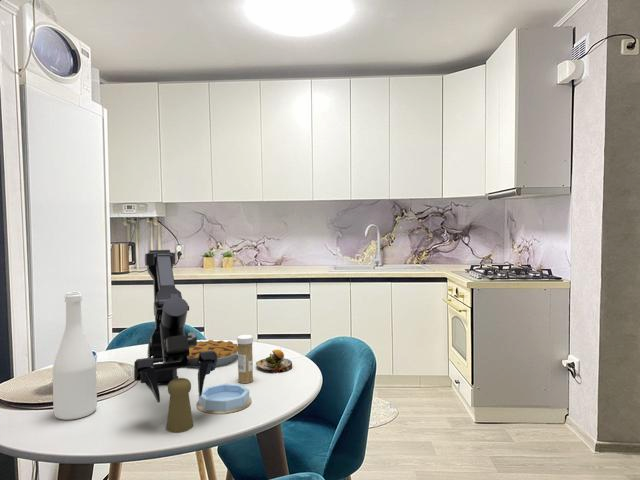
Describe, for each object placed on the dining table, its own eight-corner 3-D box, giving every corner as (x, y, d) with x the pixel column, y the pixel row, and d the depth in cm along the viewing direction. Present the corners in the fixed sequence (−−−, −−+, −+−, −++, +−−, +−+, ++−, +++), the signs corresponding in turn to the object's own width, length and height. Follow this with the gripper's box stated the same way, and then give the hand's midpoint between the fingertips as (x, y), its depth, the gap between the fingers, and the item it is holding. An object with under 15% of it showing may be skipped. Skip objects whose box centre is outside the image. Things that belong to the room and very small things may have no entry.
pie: (243, 350, 172) (243, 337, 172) (234, 369, 150) (234, 354, 150) (183, 351, 171) (183, 337, 171) (166, 370, 149) (165, 354, 149)
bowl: (192, 409, 117) (192, 399, 117) (211, 391, 128) (211, 382, 128) (238, 412, 115) (238, 402, 115) (253, 394, 127) (253, 385, 126)
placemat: (187, 412, 116) (187, 410, 116) (209, 391, 130) (209, 390, 130) (241, 415, 114) (241, 414, 114) (258, 394, 127) (258, 393, 127)
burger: (259, 362, 158) (259, 340, 157) (294, 362, 157) (293, 340, 157) (252, 374, 146) (252, 350, 145) (290, 374, 145) (290, 350, 145)
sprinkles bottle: (255, 381, 138) (255, 336, 137) (241, 384, 135) (241, 338, 135) (249, 377, 142) (248, 333, 141) (235, 380, 139) (234, 335, 138)
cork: (168, 434, 104) (167, 385, 103) (164, 424, 109) (163, 377, 109) (196, 429, 106) (195, 381, 106) (190, 419, 112) (189, 373, 111)
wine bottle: (67, 424, 109) (64, 296, 108) (45, 415, 114) (42, 293, 113) (105, 410, 117) (102, 291, 116) (83, 402, 122) (80, 288, 121)
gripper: (133, 324, 107) (137, 387, 97) (215, 317, 114) (226, 375, 105) (132, 350, 114) (135, 411, 105) (209, 342, 122) (219, 398, 112)
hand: (180, 398), depth 106 cm, fingers open, 9 cm apart
